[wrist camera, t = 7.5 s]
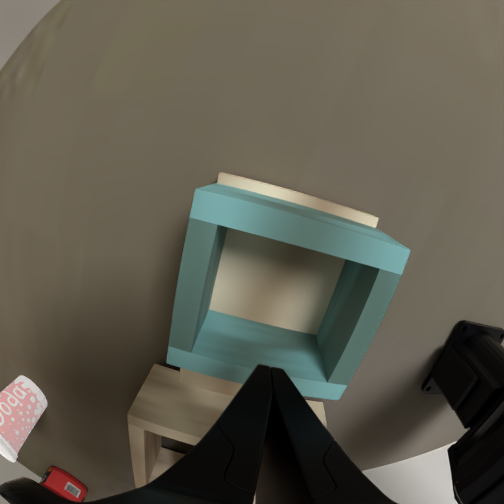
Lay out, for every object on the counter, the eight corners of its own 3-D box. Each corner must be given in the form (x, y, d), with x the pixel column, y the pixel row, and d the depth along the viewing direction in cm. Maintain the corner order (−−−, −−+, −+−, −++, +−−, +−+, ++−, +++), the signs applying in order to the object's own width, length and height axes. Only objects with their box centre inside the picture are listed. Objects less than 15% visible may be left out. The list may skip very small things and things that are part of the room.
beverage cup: (56, 399, 21) (-8, 490, 8) (49, 418, 23) (-4, 495, 9) (15, 360, 20) (-59, 437, 7) (12, 384, 22) (-48, 452, 8)
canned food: (45, 459, 28) (20, 500, 17) (85, 481, 28) (62, 527, 17) (55, 475, 30) (34, 513, 19) (91, 495, 30) (73, 536, 20)
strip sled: (402, 225, 14) (451, 251, 9) (272, 476, 21) (271, 517, 17) (185, 164, 14) (145, 163, 9) (150, 448, 21) (135, 487, 16)
